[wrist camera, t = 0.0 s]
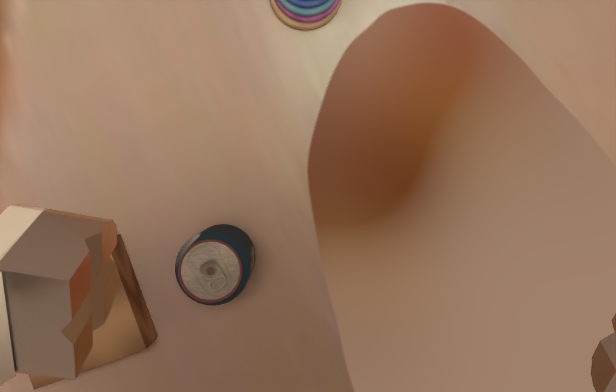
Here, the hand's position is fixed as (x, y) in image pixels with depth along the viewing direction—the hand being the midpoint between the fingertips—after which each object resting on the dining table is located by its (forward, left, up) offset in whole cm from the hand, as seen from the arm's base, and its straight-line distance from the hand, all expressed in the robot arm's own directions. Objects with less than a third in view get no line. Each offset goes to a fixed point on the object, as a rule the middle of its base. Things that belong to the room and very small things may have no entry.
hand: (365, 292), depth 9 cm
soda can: (-3, +10, -55) cm, 55 cm away
